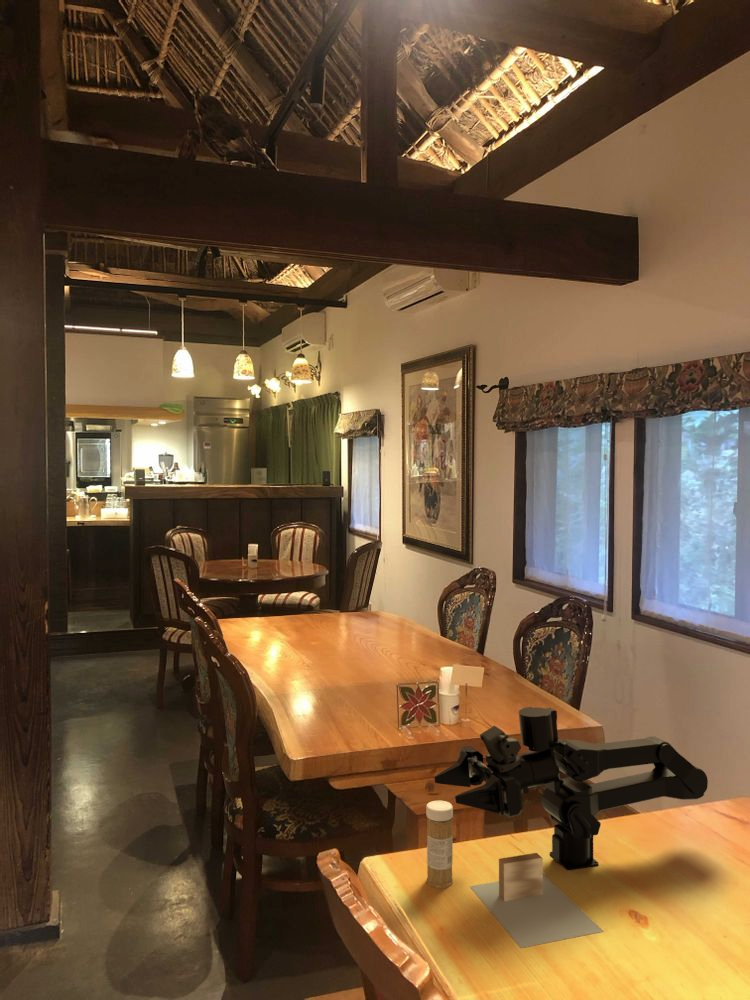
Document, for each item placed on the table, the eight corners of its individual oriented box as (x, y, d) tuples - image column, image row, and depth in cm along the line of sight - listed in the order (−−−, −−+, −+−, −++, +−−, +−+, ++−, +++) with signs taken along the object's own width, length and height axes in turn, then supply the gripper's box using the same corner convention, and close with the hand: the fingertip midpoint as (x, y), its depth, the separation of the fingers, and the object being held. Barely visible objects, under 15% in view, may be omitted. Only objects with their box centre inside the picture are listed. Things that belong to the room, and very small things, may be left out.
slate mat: (543, 875, 128) (543, 873, 128) (603, 933, 111) (603, 931, 111) (469, 888, 124) (469, 886, 124) (520, 949, 106) (520, 947, 106)
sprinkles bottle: (437, 873, 129) (437, 797, 129) (458, 882, 125) (458, 804, 126) (421, 883, 125) (420, 804, 125) (442, 893, 122) (441, 812, 122)
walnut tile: (536, 888, 123) (536, 852, 123) (542, 894, 121) (542, 858, 121) (499, 895, 121) (498, 858, 121) (504, 901, 119) (504, 864, 119)
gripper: (497, 712, 139) (420, 727, 134) (548, 742, 121) (462, 761, 117) (502, 769, 139) (426, 787, 135) (554, 808, 121) (468, 829, 117)
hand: (444, 789), depth 126 cm, fingers open, 9 cm apart
